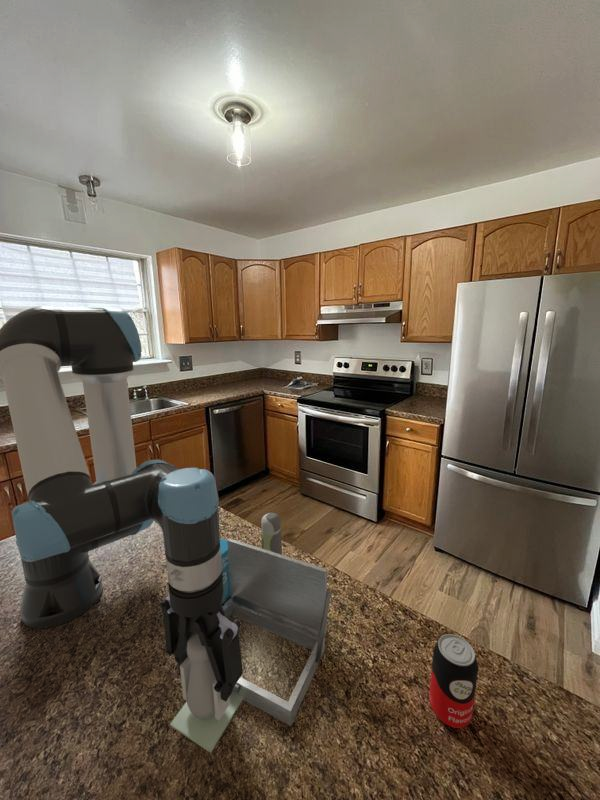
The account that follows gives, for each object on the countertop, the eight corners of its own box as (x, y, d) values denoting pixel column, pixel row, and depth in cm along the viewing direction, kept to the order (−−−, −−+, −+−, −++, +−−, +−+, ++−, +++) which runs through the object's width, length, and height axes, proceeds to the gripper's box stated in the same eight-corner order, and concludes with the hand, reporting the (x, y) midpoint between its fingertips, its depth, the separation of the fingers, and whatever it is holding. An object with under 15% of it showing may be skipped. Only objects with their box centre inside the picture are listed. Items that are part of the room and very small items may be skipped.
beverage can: (421, 709, 55) (427, 648, 52) (438, 681, 59) (444, 623, 56) (462, 743, 50) (470, 678, 48) (477, 709, 54) (485, 648, 52)
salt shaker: (211, 679, 58) (206, 615, 55) (232, 702, 55) (228, 635, 52) (180, 708, 54) (173, 640, 51) (201, 735, 50) (195, 664, 47)
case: (181, 669, 61) (173, 588, 58) (233, 606, 75) (229, 538, 71) (295, 733, 52) (294, 641, 48) (331, 647, 65) (332, 570, 62)
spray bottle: (269, 583, 82) (267, 507, 78) (287, 589, 80) (285, 512, 75) (258, 597, 78) (255, 518, 73) (276, 604, 75) (274, 523, 71)
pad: (170, 725, 53) (169, 724, 53) (205, 678, 60) (205, 676, 60) (210, 753, 49) (210, 751, 49) (242, 699, 56) (242, 697, 56)
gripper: (128, 572, 50) (145, 696, 55) (233, 618, 42) (241, 759, 47) (168, 543, 56) (179, 656, 61) (265, 578, 48) (269, 705, 53)
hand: (206, 700), depth 54 cm, fingers closed on salt shaker, 6 cm apart
